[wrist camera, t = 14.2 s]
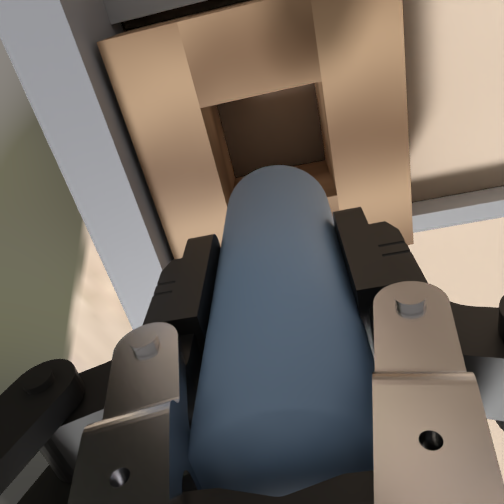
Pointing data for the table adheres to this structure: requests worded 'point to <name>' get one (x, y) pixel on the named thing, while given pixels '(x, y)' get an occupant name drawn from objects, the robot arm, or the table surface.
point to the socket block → (261, 82)
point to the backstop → (126, 138)
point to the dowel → (281, 347)
